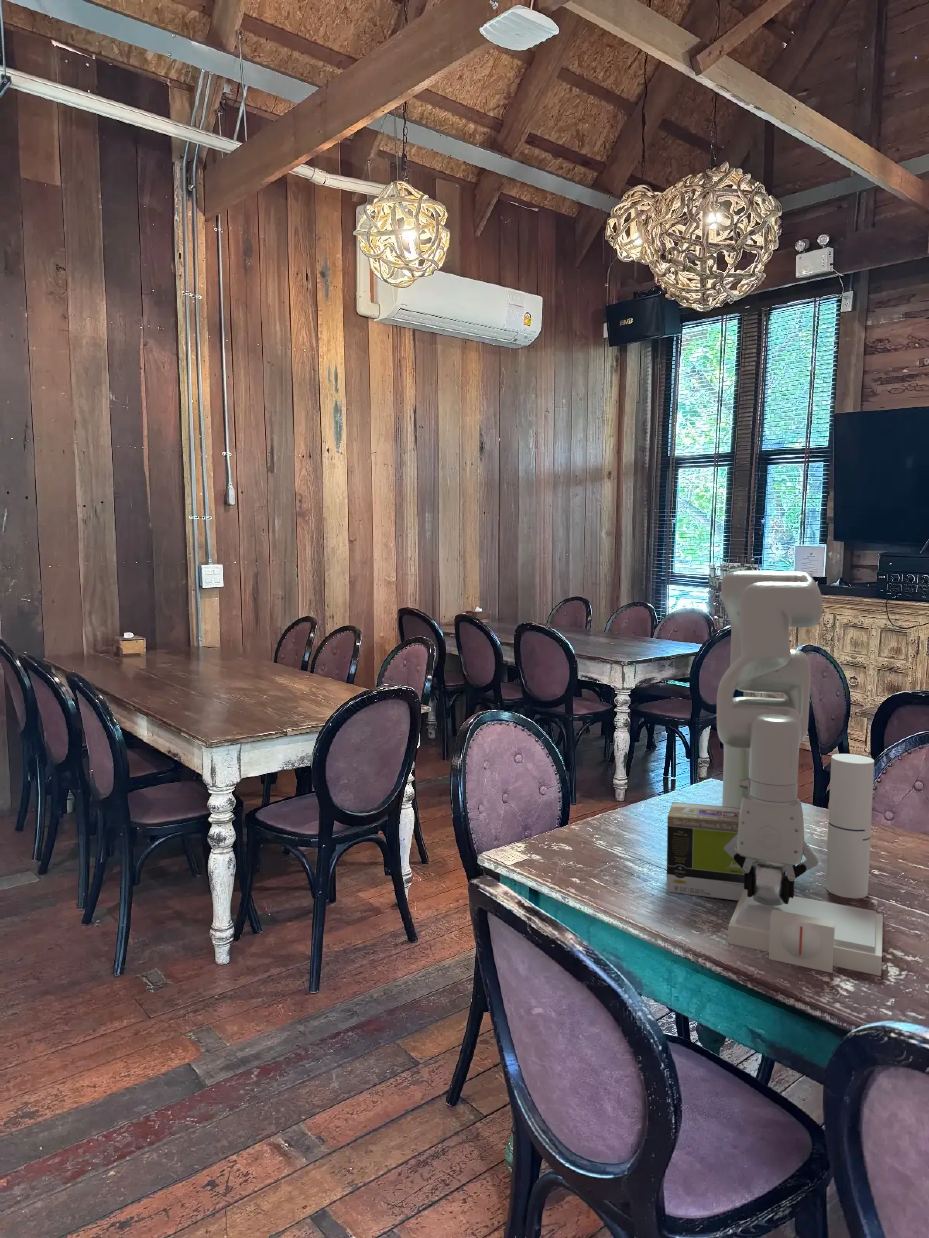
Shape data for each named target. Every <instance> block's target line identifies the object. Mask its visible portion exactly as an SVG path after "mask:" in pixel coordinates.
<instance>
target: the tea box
mask: <svg viewBox="0 0 929 1238" xmlns="http://www.w3.org/2000/svg"><path fill="white" fill-rule="evenodd" d="M667 814H668V815H667V822H666V823H667V824H666V825H667V826H666V829H667V831H666V832H667V833H666V835H667V836H666V838H667V839H666V840H667V841H666V892H668V893H674V894H675V893H676V894H681V893H682V895H689V896H690V895H691V896H699V897H707V898H712V899H713V898H714V899H722V900H723V899H724V900H730V901H738V902H739V900H740V897H741V895H742V893H743V891H744V872H743V870H742V868H741V867H740V866H739V865H738V863H737V862H736V861H735V860H734V858H733V857H731V856H730V855H729V854H728V853H727V852H726V851H725V850H724V846H725V845H726V843H727V842H728V841H729V840H730V839H732V838H733V837H734V836H735V835H736V834H737V833H738V823H739V815H740V808H736V807H725V806H722V805H711V804H699V803H688V802H678V801H677V802H676V801H672V802H671V805H670V808H669V812H668V813H667ZM735 847H736V849H737V845H736V846H735Z"/></svg>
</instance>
